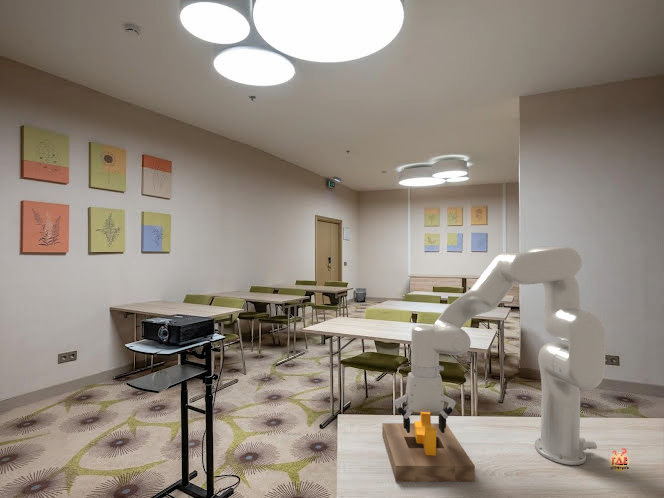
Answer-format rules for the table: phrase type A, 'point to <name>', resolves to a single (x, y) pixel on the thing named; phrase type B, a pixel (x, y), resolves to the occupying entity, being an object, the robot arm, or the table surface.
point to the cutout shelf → (426, 456)
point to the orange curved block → (426, 433)
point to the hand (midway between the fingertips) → (424, 430)
